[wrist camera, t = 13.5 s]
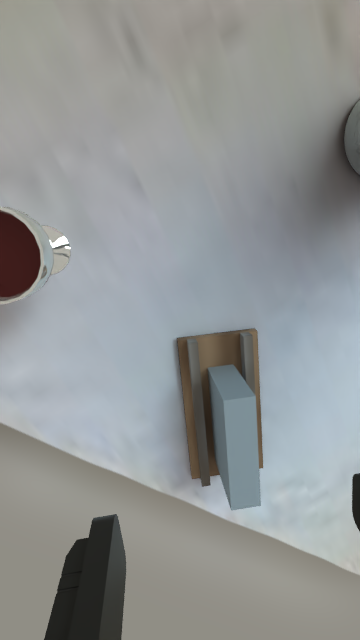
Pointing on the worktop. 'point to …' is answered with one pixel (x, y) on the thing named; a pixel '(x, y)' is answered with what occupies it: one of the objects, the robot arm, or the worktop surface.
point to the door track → (196, 395)
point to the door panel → (235, 435)
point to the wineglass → (27, 254)
